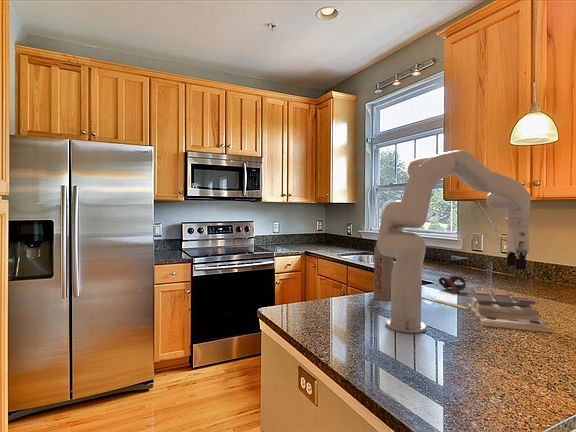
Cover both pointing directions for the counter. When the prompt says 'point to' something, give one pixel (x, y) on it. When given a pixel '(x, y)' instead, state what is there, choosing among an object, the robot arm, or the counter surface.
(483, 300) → the rocker left
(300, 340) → the counter surface
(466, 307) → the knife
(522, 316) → the switch unit
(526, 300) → the rocker right
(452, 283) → the brown looped piece
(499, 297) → the rocker middle
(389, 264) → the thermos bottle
